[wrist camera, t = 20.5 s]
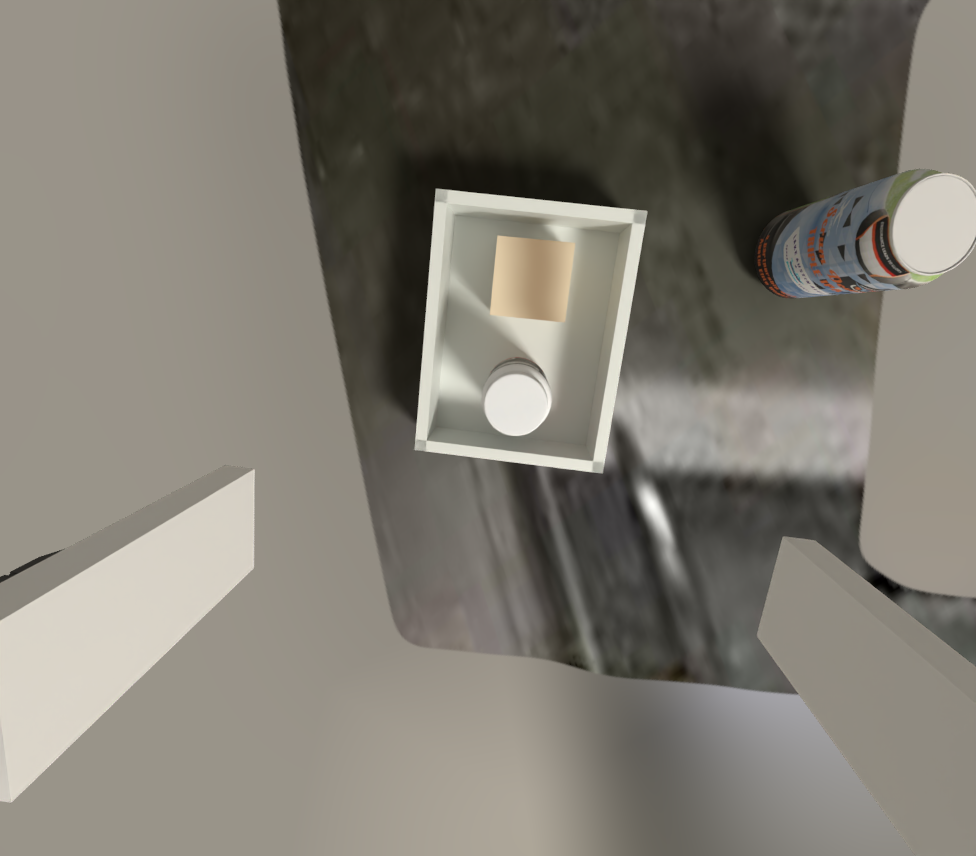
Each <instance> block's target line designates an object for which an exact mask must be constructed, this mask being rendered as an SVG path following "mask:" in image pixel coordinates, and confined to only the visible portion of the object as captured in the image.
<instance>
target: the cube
mask: <svg viewBox="0 0 976 856" xmlns="http://www.w3.org/2000/svg"><path fill="white" fill-rule="evenodd" d="M574 249H575V243H571V242H561V241H550V240H540V239H529V238H519V237H508V236H498V235H497V245H496V256H495V266H494V276H493V286H492V297H491V307H490V315H496V316H506V317H516V318H525V319H535V320H545V321H555V322H565V319H566V311H567V303H568V296H569V288H570V280H571V272H572V265H573V257H574Z"/></svg>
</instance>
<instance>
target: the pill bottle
mask: <svg viewBox="0 0 976 856" xmlns="http://www.w3.org/2000/svg"><path fill="white" fill-rule="evenodd" d="M481 402H482V407H483V411H484V413H485V415H486V417H487V419H488V421H489V423H490V424H491V425H492V426H493V427H494V428H495V429H496V430H498V431H499V432H501V433H503V434H506V435H510V436H521V435H525V434H528V433H530V432H532V431H534V430H535V429H536V428H537V427H538V426H539V425H540V424H541V423H542V422H543V421H544V420H545V419H546V417H547V415H548V413H549V411H550V408H551V403H552V395H551V390H550V386H549V384H548V381H547V378H546V376H545V374H544V372H543V370H542V369H541V368H540V367H539V366H538V365H537V364H536V363H534V362H533V361H531V360H529V359H526V358H521V357H513V358H508V359H506V360H503V361H502V362H500V363H499V364H497V365H496V366H495V367H494V368H493V370H492V371H491V372H490V375H489V377H488V379H487V380H486V382H485V384H484V387H483V390H482V397H481Z"/></svg>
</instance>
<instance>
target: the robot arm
mask: <svg viewBox="0 0 976 856" xmlns="http://www.w3.org/2000/svg"><path fill="white" fill-rule="evenodd" d="M254 476H255V469H252V468H243V467H236V466H229V465H224V466H222V467H220V468H218V469H217V470H215V471H213V472H211V473H209V474H207V475H205V476H203V477H201V478H199V479H197V480H195V481H194V482H192V483H190V484H188V485H186V486H184V487H182V488H180V489H178V490H176V491H175V492H173V493H171V494H169V495H167V496H165V497H163V498H161V499H159V500H158V501H156V502H154V503H152V504H150V505H148V506H146V507H144V508H142V509H140V510H139V511H136V512H135V513H133V514H131V515H129V516H127V517H125V518H123V519H121V520H119V521H117V522H116V523H114V524H112V525H110V526H108V527H106V528H104V529H102V530H100V531H98V532H97V533H95V534H93V535H91V536H89V537H87V538H85V539H83V540H81V541H79V542H77V543H75V544H74V545H72V546H70V547H68V548H66V549H63V550H60V551H57V552H54V553H51V554H48V555H44V556H41V557H38V558H37V559H35V560H33V561H31V562H29V563H27V564H25V565H23V566H21V567H19V568H17V569H15V570H13V571H11V572H10V574H9V576H8V575H4V576H1V577H0V801H4V802H12V801H13V800H14V799H15V798H17V796H19V795H20V794H21V792H23V791H24V790H25V789H26V788H27V787H28V786H29V785H30V784H31V783H32V782H33V781H34V780H35V779H36V778H37V777H38V776H39V775H40V774H41V773H42V772H43V771H44V770H45V769H46V768H48V766H50V764H52V763H53V762H54V761H55V760H56V759H57V758H58V757H59V756H60V755H61V754H62V753H63V752H64V751H65V750H66V749H67V748H68V747H69V746H70V745H71V744H72V743H73V742H74V741H75V740H77V739H78V738H79V736H81V735H82V734H83V733H84V732H85V731H86V730H87V729H88V728H89V727H90V726H91V725H92V724H93V723H94V722H95V721H96V720H97V719H98V718H99V717H100V716H101V715H102V714H103V713H104V712H105V711H107V710H108V709H109V708H110V707H111V706H112V705H113V704H114V703H115V702H116V701H117V700H118V699H119V698H120V697H121V696H122V695H123V694H124V693H125V692H126V691H127V690H128V689H129V688H130V687H131V686H132V685H133V684H134V683H135V682H136V681H138V680H139V679H140V678H141V677H142V676H143V675H144V674H145V673H146V672H147V671H148V670H149V669H150V668H151V667H152V666H153V665H154V664H155V663H156V662H157V661H158V660H159V659H160V658H161V657H162V656H163V655H164V654H165V653H167V652H168V651H169V650H170V649H171V648H172V647H173V646H174V644H176V643H177V642H178V641H179V640H180V639H181V638H182V637H183V636H184V635H185V634H186V633H187V632H188V631H189V630H190V629H191V628H192V627H193V626H194V625H195V624H196V623H198V622H199V621H200V620H201V619H202V618H203V617H204V616H205V615H206V614H207V613H208V612H209V611H210V610H211V609H212V608H213V607H214V606H215V605H216V604H217V603H218V602H219V601H220V600H221V599H222V598H223V597H224V596H225V595H226V594H227V593H228V592H230V591H231V590H232V589H233V588H234V587H235V586H236V585H237V584H238V583H239V582H240V581H241V580H242V579H243V578H244V577H245V576H246V575H247V574H248V573H249V572H250V571H251V570H252V569H253V568H254V483H255V482H254V481H255V480H254V479H255V477H254ZM757 637H758V638H759V640H760V641H761V643H762V644H763V645H764V647H765V648H766V649H767V651H768V652H769V654H770V655H771V656H772V658H773V659H774V661H775V662H776V663H777V665H778V666H779V667H780V669H781V670H782V672H783V673H784V674H785V676H786V677H787V679H788V680H789V681H790V683H791V684H792V685H793V687H794V688H795V690H796V691H797V692H798V694H799V695H800V697H801V698H802V699H803V701H804V702H805V704H806V705H807V706H808V708H809V709H810V710H811V712H812V713H813V714H814V716H815V717H816V719H817V720H818V721H819V723H820V724H821V726H822V727H823V728H824V730H825V731H826V733H827V734H828V735H829V737H830V738H831V740H832V741H833V742H834V744H835V745H836V746H837V748H838V749H839V750H840V752H841V753H842V755H843V756H844V758H845V759H846V760H847V761H848V763H849V764H850V766H851V767H852V769H853V770H854V771H855V773H856V774H857V776H858V777H859V778H860V780H861V781H862V782H863V784H864V785H865V786H866V788H867V789H868V791H869V792H870V794H871V795H872V796H873V798H874V799H875V800H876V802H877V803H878V804H879V806H880V807H881V809H882V810H883V812H884V813H885V814H886V816H887V817H888V819H889V820H890V821H891V822H892V824H893V825H894V827H895V828H896V830H897V831H898V832H899V834H900V835H901V836H902V838H903V839H904V841H905V842H906V843H907V845H908V846H909V848H910V849H911V850H912V852H913V853H914V855H915V856H976V667H975V666H974V665H973V664H971V663H970V662H969V661H968V660H966V659H965V658H964V657H962V656H961V655H960V654H959V653H957V652H956V651H955V650H954V649H952V648H951V647H950V646H949V645H947V644H946V643H945V642H943V641H942V640H941V639H940V638H938V637H937V636H936V635H935V634H933V633H932V632H931V631H929V630H928V629H927V628H926V627H924V626H923V625H922V624H921V623H919V622H918V621H917V620H915V619H914V618H913V617H912V616H910V615H909V614H908V613H907V612H905V611H904V610H903V609H901V608H900V607H899V606H898V605H896V604H895V603H894V602H893V601H891V600H890V599H889V598H887V597H886V596H885V595H884V594H882V593H881V592H880V591H879V590H877V589H876V588H875V587H873V586H872V585H871V584H870V583H868V582H867V581H866V580H865V579H863V578H862V577H861V576H859V575H858V574H857V573H856V572H854V571H853V570H852V569H851V568H849V567H848V566H847V565H845V564H844V563H843V562H842V561H840V560H839V559H838V558H837V557H835V556H834V555H833V554H832V553H830V552H829V551H828V550H826V549H825V548H824V547H823V546H821V545H820V544H819V543H818V542H816V541H815V540H807V539H799V538H791V537H784V536H783V538H782V542H781V546H780V549H779V553H778V557H777V561H776V565H775V568H774V572H773V576H772V580H771V584H770V587H769V591H768V595H767V599H766V602H765V606H764V610H763V614H762V618H761V621H760V625H759V629H758V633H757Z"/></svg>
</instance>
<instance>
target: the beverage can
mask: <svg viewBox="0 0 976 856" xmlns="http://www.w3.org/2000/svg"><path fill="white" fill-rule="evenodd" d="M975 244H976V190H975V189H974V187H973V186H972V185H971V184H970V183H969V182H968V181H967V180H966V179H964V178H962V177H961V176H959V175H955V174H951V173H941V172H938V171H935V170H929V169H916V170H909V171H905V172H902V173H899V174H896V175H893V176H890V177H887V178H884V179H881V180H878V181H875V182H873V183H870V184H867V185H864V186H861V187H858V188H855V189H852V190H849V191H846V192H843V193H840V194H837V195H834V196H831V197H828V198H825V199H822V200H819V201H816V202H813V203H810V204H807V205H804V206H801V207H798V208H795V209H792V210H789V211H786V212H784V213H782V214H780V215H778V216H777V217H775V218H774V219H773V220H772V221H770V223H769V224H768V225H767V226H766V227H765V228H764V230H763V231H762V233H761V235H760V237H759V239H758V242H757V245H756V249H755V267H756V272H757V274H758V277H759V279H760V281H761V282H762V284H763V285H764V286H765V287H766V288H767V289H768V290H769V291H770V292H772V293H773V294H775V295H777V296H780V297H784V298H802V297H814V296H827V295H839V294H851V293H863V292H875V291H887V290H899V289H908V288H915V287H918V286H921V285H924V284H927V283H929V282H930V281H932V280H934V279H936V278H938V277H939V276H940V275H942V274H943V273H945V272H947V271H949V270H951V269H953V268H955V267H956V266H957V265H959V264H960V263H961V262H962V261H963V260H964V259H965V258H966V257H967V256H968V255H969V254H970V252H971V250H972V249H973V248H974V246H975Z"/></svg>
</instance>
